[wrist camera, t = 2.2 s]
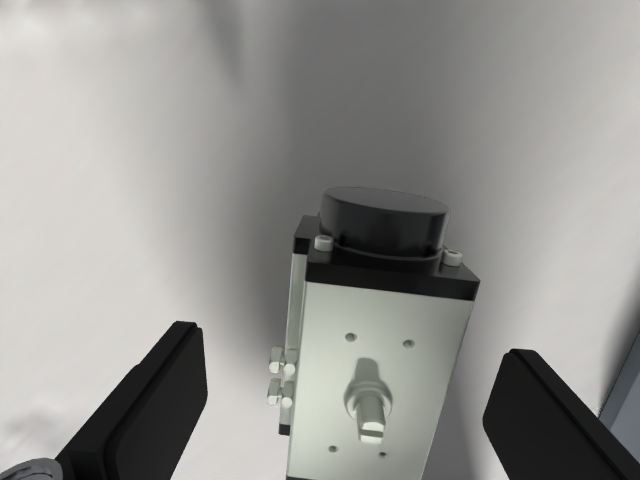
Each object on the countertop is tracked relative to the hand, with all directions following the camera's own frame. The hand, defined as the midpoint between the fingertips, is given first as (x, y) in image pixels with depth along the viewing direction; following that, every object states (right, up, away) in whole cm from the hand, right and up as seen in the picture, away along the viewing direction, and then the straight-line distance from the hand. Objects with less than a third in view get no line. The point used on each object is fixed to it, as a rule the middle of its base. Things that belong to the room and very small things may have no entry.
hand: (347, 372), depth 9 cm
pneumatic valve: (+1, +3, +11) cm, 11 cm away
